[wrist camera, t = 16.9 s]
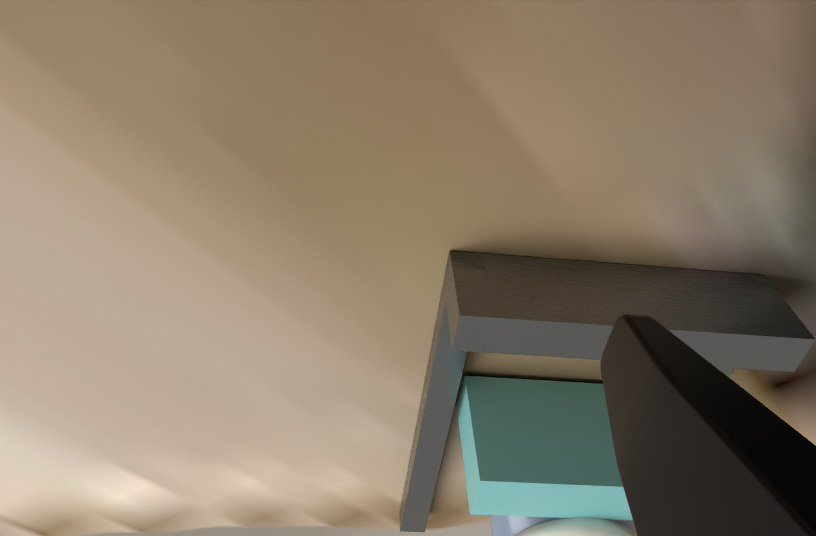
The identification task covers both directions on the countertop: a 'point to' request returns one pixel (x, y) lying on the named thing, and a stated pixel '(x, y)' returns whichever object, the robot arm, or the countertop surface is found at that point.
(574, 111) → the countertop surface
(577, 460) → the teal foam pad
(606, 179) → the countertop surface
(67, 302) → the countertop surface
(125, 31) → the countertop surface
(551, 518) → the jar
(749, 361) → the gray u-shaped archway
